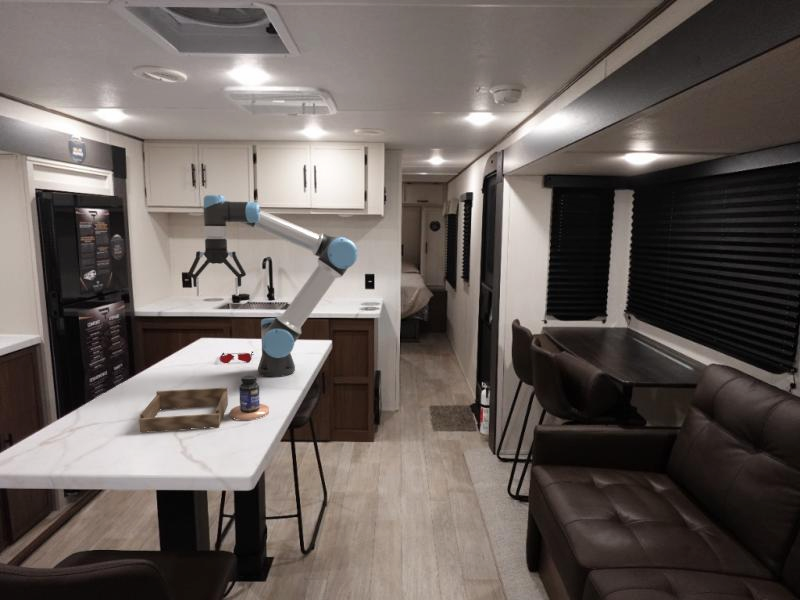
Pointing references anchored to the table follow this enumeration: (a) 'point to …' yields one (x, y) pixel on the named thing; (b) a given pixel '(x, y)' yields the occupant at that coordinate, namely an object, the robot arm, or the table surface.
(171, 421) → the frame
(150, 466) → the table surface
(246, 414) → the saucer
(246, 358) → the glasses
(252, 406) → the pill bottle
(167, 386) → the table surface
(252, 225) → the robot arm
